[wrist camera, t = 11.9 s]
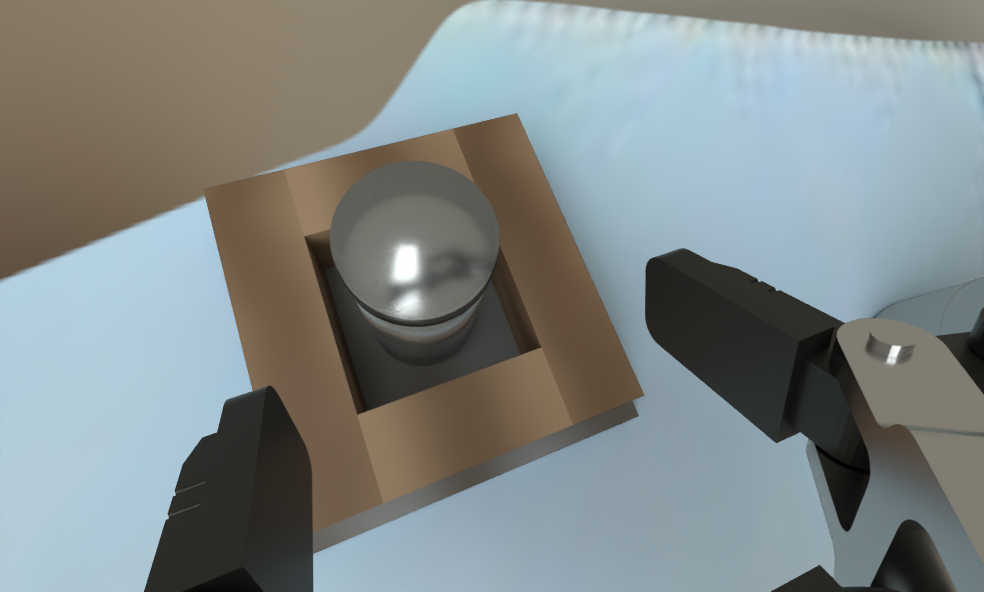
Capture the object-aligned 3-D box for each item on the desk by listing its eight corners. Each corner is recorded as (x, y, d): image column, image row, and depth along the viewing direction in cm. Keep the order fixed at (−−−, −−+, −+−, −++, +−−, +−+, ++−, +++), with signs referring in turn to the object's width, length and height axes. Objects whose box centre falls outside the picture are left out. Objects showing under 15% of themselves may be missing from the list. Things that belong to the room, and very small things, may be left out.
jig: (512, 149, 25) (529, 90, 21) (629, 416, 22) (678, 411, 17) (220, 225, 22) (169, 173, 18) (303, 554, 18) (264, 589, 14)
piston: (453, 258, 22) (468, 143, 13) (486, 347, 21) (526, 286, 12) (358, 286, 21) (307, 182, 12) (388, 382, 20) (356, 341, 11)
